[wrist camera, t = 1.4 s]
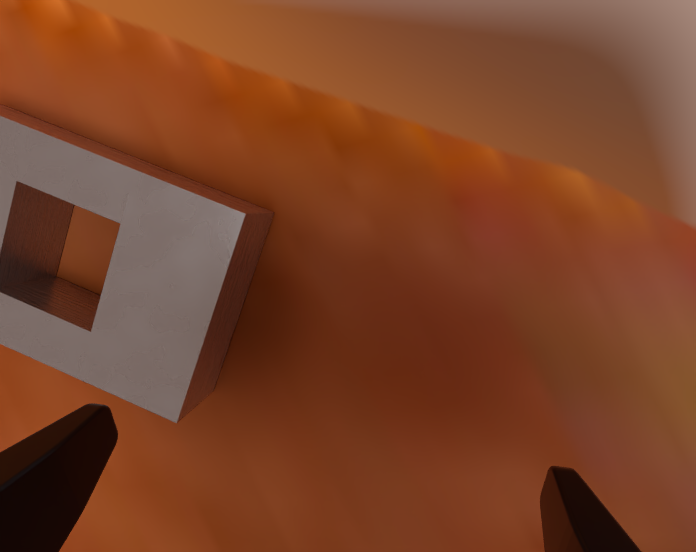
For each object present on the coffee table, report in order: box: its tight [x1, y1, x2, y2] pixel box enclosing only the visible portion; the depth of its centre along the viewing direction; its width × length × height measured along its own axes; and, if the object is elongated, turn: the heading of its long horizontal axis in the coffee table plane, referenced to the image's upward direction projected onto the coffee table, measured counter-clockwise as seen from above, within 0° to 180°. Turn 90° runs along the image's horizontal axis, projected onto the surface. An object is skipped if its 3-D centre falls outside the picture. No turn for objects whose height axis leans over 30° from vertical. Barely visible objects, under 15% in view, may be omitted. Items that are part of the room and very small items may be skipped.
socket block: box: [0, 105, 274, 423], centre depth 24 cm, size 10×16×4 cm, turn 69°
